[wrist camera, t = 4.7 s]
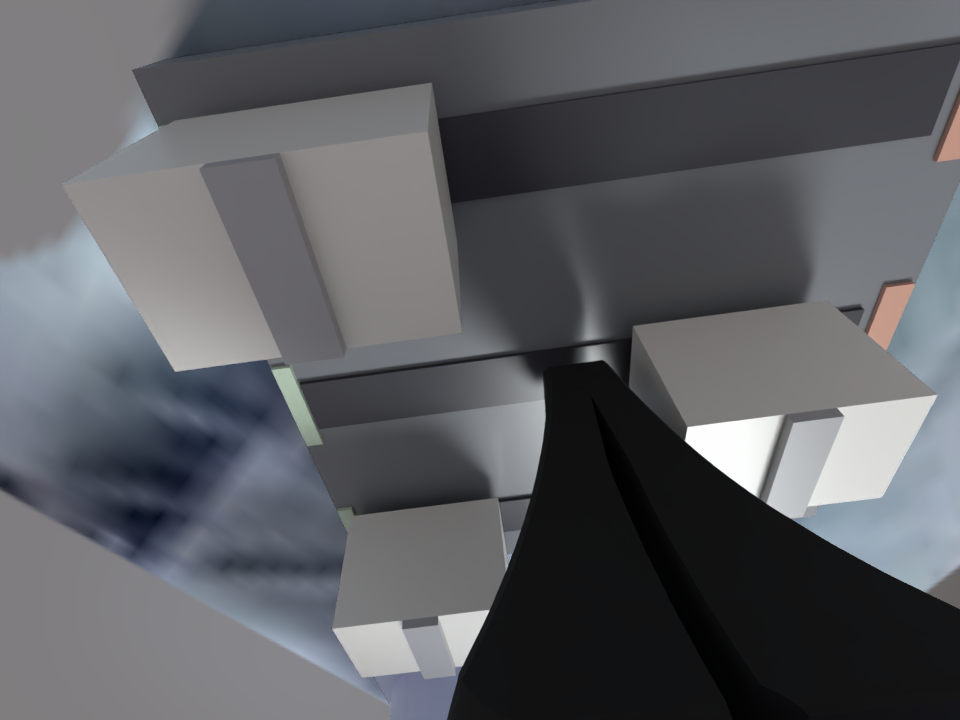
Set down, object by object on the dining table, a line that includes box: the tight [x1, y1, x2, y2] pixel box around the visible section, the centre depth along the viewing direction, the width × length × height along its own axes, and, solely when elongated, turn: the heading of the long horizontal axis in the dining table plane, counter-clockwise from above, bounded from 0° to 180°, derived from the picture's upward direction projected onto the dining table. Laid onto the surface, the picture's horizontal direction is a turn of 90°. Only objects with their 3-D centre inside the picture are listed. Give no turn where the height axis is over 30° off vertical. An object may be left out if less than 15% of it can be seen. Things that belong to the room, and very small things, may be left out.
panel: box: [132, 0, 960, 554], centre depth 12 cm, size 14×14×1 cm
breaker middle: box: [629, 300, 937, 518], centre depth 10 cm, size 3×4×3 cm, turn 97°
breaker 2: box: [332, 498, 508, 679], centre depth 13 cm, size 3×4×3 cm, turn 97°
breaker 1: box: [61, 83, 462, 372], centre depth 7 cm, size 3×4×3 cm, turn 97°
